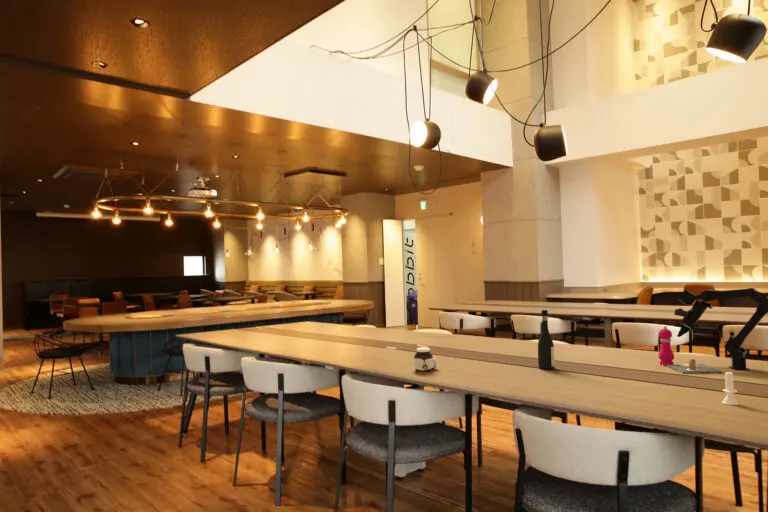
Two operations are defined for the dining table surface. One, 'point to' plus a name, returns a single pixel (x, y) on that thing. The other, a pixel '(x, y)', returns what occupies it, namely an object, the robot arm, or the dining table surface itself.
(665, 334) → the pepper mill
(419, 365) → the spread jar
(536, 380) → the dining table surface
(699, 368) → the board
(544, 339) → the wine bottle
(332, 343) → the dining table surface
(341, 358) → the dining table surface
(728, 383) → the candle
